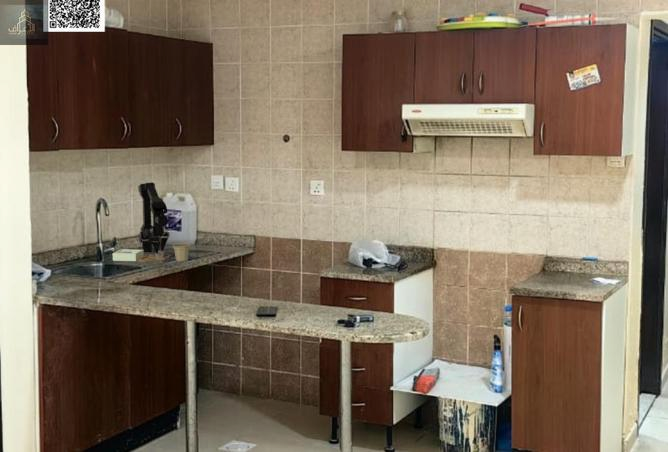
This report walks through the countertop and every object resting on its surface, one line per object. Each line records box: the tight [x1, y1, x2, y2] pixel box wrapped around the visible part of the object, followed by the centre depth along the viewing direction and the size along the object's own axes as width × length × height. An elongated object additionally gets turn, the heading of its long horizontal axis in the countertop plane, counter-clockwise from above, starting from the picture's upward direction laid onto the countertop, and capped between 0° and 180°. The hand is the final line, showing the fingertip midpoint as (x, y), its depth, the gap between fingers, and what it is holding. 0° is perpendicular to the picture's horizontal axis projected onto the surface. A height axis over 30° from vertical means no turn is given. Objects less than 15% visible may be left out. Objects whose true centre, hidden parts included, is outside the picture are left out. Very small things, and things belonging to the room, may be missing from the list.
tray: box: [136, 253, 173, 263], centre depth 539 cm, size 17×14×2 cm
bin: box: [112, 248, 145, 262], centre depth 540 cm, size 13×13×5 cm
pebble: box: [154, 250, 165, 259], centre depth 538 cm, size 4×4×4 cm
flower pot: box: [172, 243, 191, 262], centre depth 534 cm, size 9×9×9 cm
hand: (159, 252), depth 538 cm, fingers open, 9 cm apart
